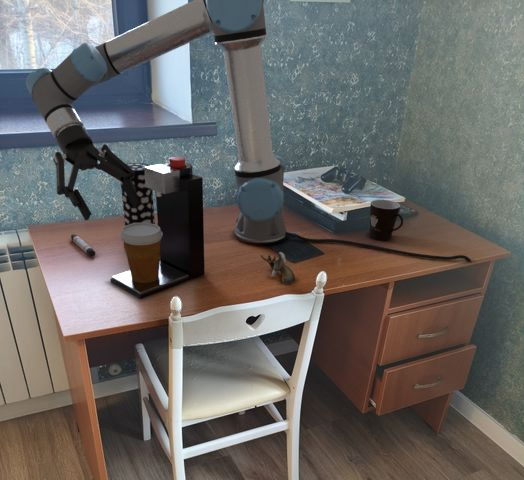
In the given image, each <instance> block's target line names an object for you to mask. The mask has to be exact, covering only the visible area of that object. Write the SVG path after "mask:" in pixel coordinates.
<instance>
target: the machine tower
mask: <svg viewBox="0 0 524 480" xmlns="http://www.w3.org/2000/svg"><path fill="white" fill-rule="evenodd" d="M185 164H186V167H183V168H174V169H177V170H180V191H176V192H172V193H168V194H164V196H162V197H157V196H155V204H156V215H157V217H156V218H157V225H158V226H159V227H160V229H161V232H162V233H163V236H162V238H161V245H160V260H159V261H161V262H163V263H165V264H167V265H169V266H171V267H173V268H175V269H177V270H179V271H182V272H184V273H186V274H188V276H190V277H191V280H190V281H192V280H195V279H198V278H201V277H203V276H205V275H206V274H205V273H206V272H205V234H204V233H205V231H204V230H205V229H204V224H205V223H204V183H203V181H204V180H203V179H204V178H203V177H202V176H199V175H196V174H193V173H194V171H193V165H192V164H191V163H189V162H185ZM163 165H164V166H167V167H168V168H169V167H170V164H169V162H166V163H164V164H163ZM171 168H172V167H171Z"/></svg>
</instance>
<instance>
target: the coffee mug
mask: <svg viewBox="0 0 524 480" xmlns="http://www.w3.org/2000/svg"><path fill="white" fill-rule="evenodd" d="M369 206H370V207H369V208H370V211H369V234H368V235H369V238H370V239H372V240H374V241H381V242H383V241H389V240H391V238H392V235H393V232H394V231H397V230H400V229H401V227H403V224H404V218H403V216H402V214H399V213H400V209H401V204H400V203H399V202H397V201H394V200H389V199H374V200H372V201H370V205H369ZM398 218H399V219H400V224H399V226H397V227H396V228H395V225H396V221H397V219H398Z"/></svg>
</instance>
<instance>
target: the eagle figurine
mask: <svg viewBox="0 0 524 480" xmlns="http://www.w3.org/2000/svg"><path fill="white" fill-rule="evenodd" d="M260 258H261V259H262V260H263V261H265V262H266V263H268V265H269V266H270V268H271V270H272V271H271V276H270V279H273V277H275V276H276V274H277V273H279V272H280V275H281V282H282V284H285V285H292V284H293V283H294V282H295V281H296V275H295V273H294V272H293V270H292V269H291V268H290V267H289V266H287V264H285V263H286V262H287V260H286V255H285V253H283V251H279V252H278V256H277V257H276V254H273V258H272V257H271V254H269V255H267V258H266V257H264V256H263V255H262V254H261V255H260ZM277 258H278V259H277Z"/></svg>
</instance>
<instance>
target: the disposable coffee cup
mask: <svg viewBox="0 0 524 480" xmlns="http://www.w3.org/2000/svg"><path fill="white" fill-rule="evenodd" d="M119 236H120V239H121V241H122V243H123V246H124V250H125V251H124V252H125V256H126V259H127V263H128V267H129V271H130V272H131V276H132V279H133V280H134V281H136V282H141V283H147V282H152V281H155V280H156V279H158V277H159V261H160V245H161V238H162V236H163V233H162V232H161V229H160V227H159V226H158V224H156V223H155V224H152V223H133V224H129V225H126V226H125V225H124V226H123V227H122V228H121V232H120V233H119Z"/></svg>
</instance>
